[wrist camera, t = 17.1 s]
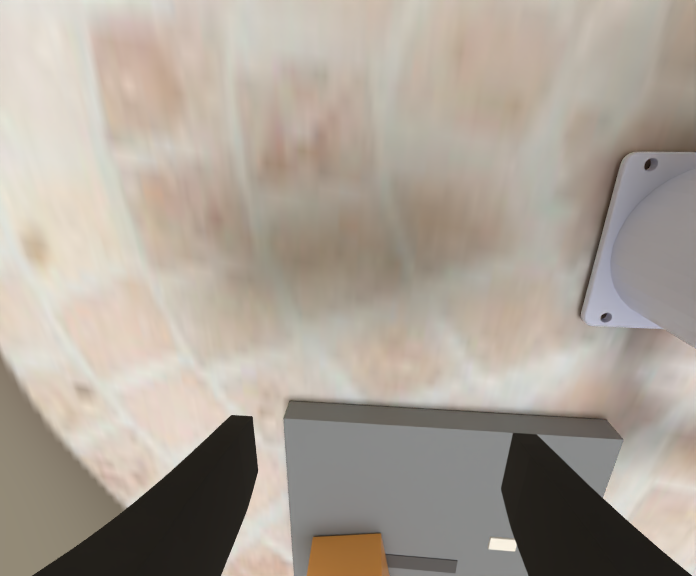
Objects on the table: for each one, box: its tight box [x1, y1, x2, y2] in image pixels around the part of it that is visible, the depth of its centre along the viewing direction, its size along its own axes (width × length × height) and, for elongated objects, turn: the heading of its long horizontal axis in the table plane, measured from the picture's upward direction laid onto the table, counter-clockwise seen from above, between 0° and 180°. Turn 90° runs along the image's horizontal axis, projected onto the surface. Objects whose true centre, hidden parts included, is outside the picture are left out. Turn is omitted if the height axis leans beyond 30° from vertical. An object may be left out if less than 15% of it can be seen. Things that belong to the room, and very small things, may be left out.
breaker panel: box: [283, 401, 623, 576], centre depth 22 cm, size 18×14×2 cm
